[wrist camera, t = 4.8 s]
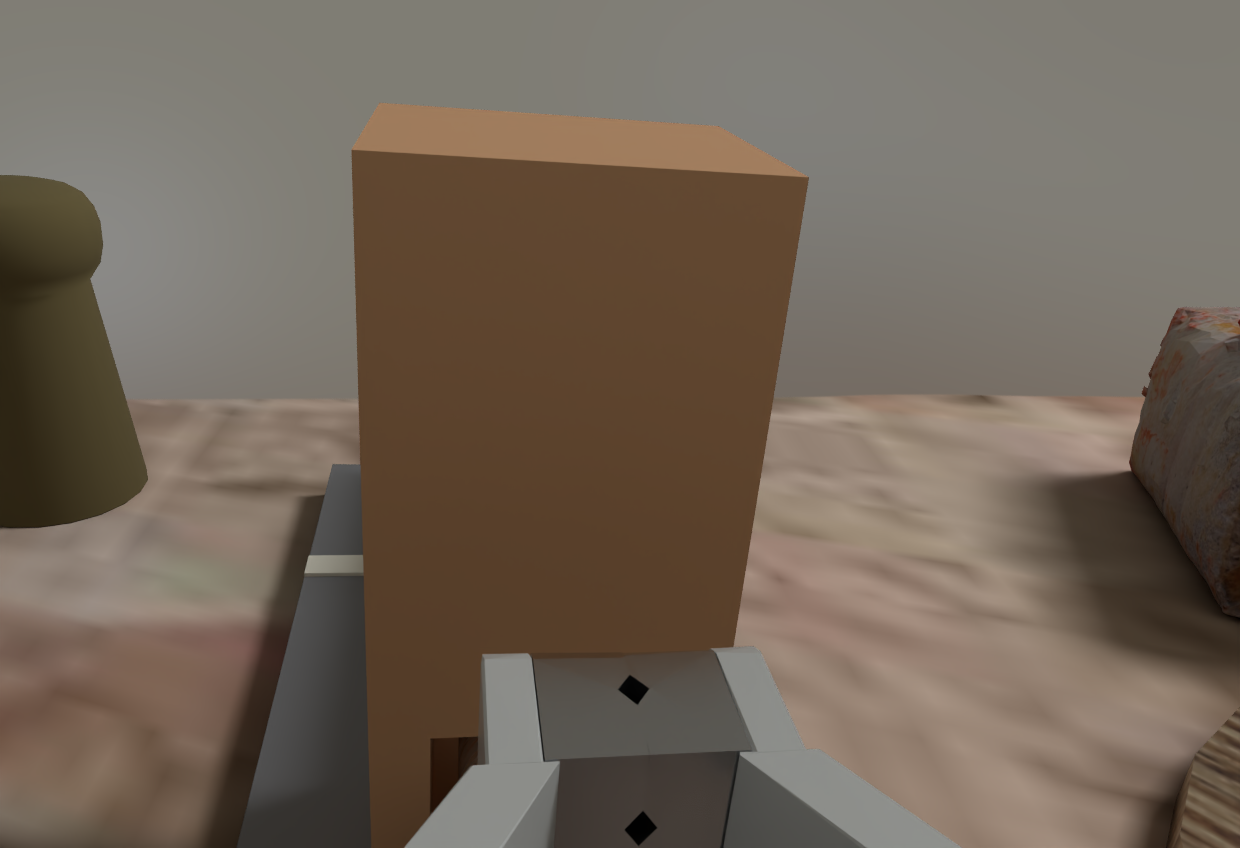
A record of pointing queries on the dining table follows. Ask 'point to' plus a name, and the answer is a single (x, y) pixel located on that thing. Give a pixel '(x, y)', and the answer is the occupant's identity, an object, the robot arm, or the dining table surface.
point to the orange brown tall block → (552, 403)
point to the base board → (320, 698)
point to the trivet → (1211, 794)
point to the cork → (57, 365)
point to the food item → (1197, 443)
